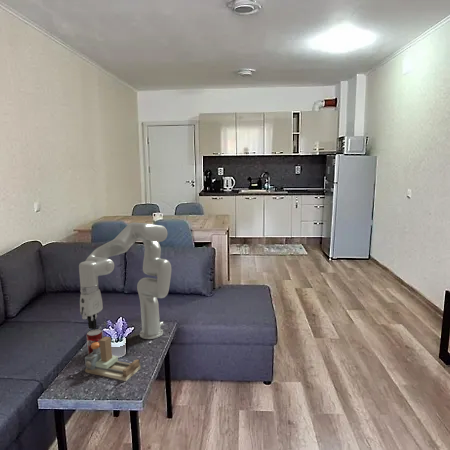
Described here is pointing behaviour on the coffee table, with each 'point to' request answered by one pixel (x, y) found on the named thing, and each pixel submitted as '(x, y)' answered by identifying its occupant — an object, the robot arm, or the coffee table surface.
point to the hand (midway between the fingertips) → (92, 327)
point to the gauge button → (95, 347)
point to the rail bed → (111, 367)
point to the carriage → (106, 354)
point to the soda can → (93, 338)
